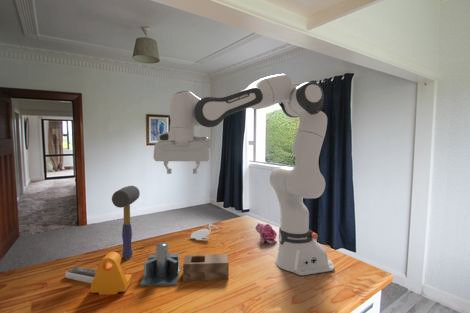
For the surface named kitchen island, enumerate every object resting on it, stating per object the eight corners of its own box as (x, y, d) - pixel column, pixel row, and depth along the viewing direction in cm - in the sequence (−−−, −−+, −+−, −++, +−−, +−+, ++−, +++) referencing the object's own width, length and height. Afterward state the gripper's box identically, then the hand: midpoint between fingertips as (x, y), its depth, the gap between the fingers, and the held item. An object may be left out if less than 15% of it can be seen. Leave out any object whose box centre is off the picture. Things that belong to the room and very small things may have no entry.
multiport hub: (97, 285, 88) (97, 278, 88) (65, 278, 92) (65, 271, 92) (107, 278, 93) (107, 272, 92) (75, 272, 97) (75, 266, 97)
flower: (278, 247, 127) (282, 235, 121) (260, 251, 124) (262, 239, 118) (270, 228, 135) (273, 216, 129) (252, 232, 133) (254, 219, 127)
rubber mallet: (130, 265, 102) (129, 190, 100) (111, 265, 102) (109, 189, 100) (141, 251, 114) (141, 184, 112) (125, 251, 114) (123, 184, 112)
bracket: (132, 281, 90) (132, 248, 89) (125, 293, 83) (124, 257, 82) (100, 282, 89) (99, 248, 89) (90, 295, 82) (89, 258, 81)
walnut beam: (227, 269, 99) (227, 254, 99) (228, 279, 92) (228, 262, 92) (185, 270, 98) (185, 255, 97) (183, 280, 91) (183, 264, 90)
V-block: (180, 267, 100) (180, 252, 100) (176, 285, 88) (176, 268, 88) (148, 269, 99) (148, 253, 98) (140, 286, 87) (140, 269, 87)
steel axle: (168, 271, 95) (168, 242, 95) (166, 277, 91) (166, 246, 91) (157, 271, 95) (157, 242, 94) (155, 277, 91) (155, 246, 90)
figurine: (218, 239, 129) (219, 222, 129) (217, 243, 125) (217, 225, 124) (191, 238, 131) (191, 221, 130) (189, 241, 126) (189, 224, 126)
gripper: (210, 136, 99) (210, 172, 100) (155, 136, 97) (156, 172, 98) (210, 136, 93) (210, 174, 94) (152, 135, 91) (152, 174, 92)
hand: (182, 173), depth 96 cm, fingers open, 8 cm apart
